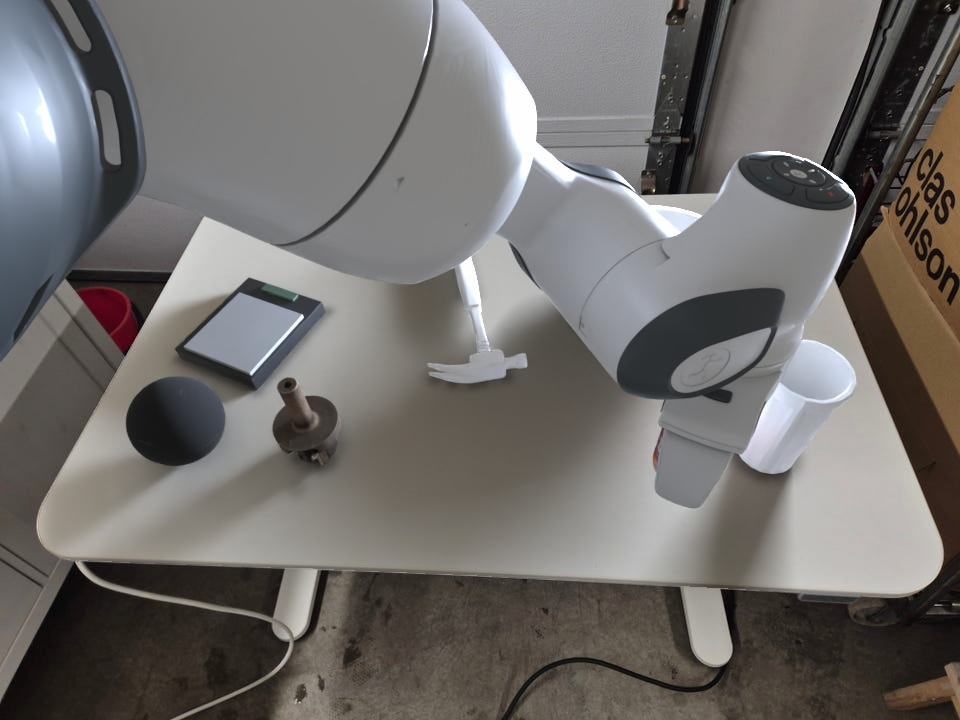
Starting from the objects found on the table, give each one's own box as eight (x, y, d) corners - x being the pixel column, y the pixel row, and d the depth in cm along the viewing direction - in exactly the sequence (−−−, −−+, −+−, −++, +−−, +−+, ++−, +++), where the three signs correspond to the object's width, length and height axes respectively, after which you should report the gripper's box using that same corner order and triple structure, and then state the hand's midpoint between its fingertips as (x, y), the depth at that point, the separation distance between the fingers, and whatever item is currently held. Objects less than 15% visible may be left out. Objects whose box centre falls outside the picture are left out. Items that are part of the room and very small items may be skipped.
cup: (807, 434, 69) (861, 351, 58) (798, 494, 64) (855, 416, 53) (733, 411, 71) (771, 328, 60) (719, 467, 67) (758, 388, 56)
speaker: (233, 399, 76) (201, 347, 69) (243, 464, 70) (209, 414, 63) (150, 426, 74) (107, 374, 67) (152, 494, 68) (106, 447, 61)
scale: (256, 390, 77) (249, 377, 75) (180, 358, 81) (171, 345, 79) (325, 311, 86) (321, 298, 84) (253, 287, 90) (247, 273, 88)
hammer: (432, 391, 76) (429, 375, 73) (407, 240, 95) (404, 224, 92) (528, 374, 77) (528, 358, 74) (484, 228, 96) (483, 212, 93)
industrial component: (293, 420, 74) (261, 356, 65) (352, 418, 74) (328, 353, 64) (276, 490, 68) (238, 430, 59) (341, 489, 67) (313, 428, 58)
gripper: (717, 260, 56) (685, 359, 66) (654, 431, 44) (627, 518, 54) (790, 279, 54) (745, 378, 64) (745, 463, 42) (699, 547, 52)
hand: (690, 444), depth 59 cm, fingers closed on pill bottle, 6 cm apart
